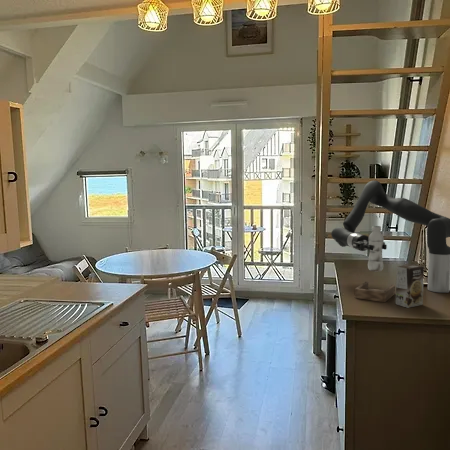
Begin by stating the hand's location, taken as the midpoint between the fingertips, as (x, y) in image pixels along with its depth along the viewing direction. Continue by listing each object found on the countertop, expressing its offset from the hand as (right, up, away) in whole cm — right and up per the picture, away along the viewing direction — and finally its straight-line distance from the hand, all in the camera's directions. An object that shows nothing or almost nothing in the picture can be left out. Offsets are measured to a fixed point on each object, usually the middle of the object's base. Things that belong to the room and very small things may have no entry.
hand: (379, 247), depth 189 cm
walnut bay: (-1, -22, +3) cm, 22 cm away
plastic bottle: (0, -11, +4) cm, 11 cm away
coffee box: (+9, -23, -10) cm, 27 cm away
